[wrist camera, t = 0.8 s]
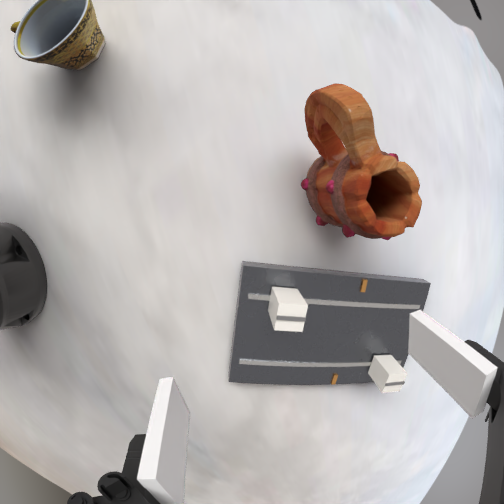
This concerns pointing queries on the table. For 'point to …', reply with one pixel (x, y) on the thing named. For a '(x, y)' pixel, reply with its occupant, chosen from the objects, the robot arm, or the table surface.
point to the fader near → (287, 309)
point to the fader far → (387, 373)
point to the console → (321, 325)
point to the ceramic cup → (59, 34)
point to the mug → (356, 169)
